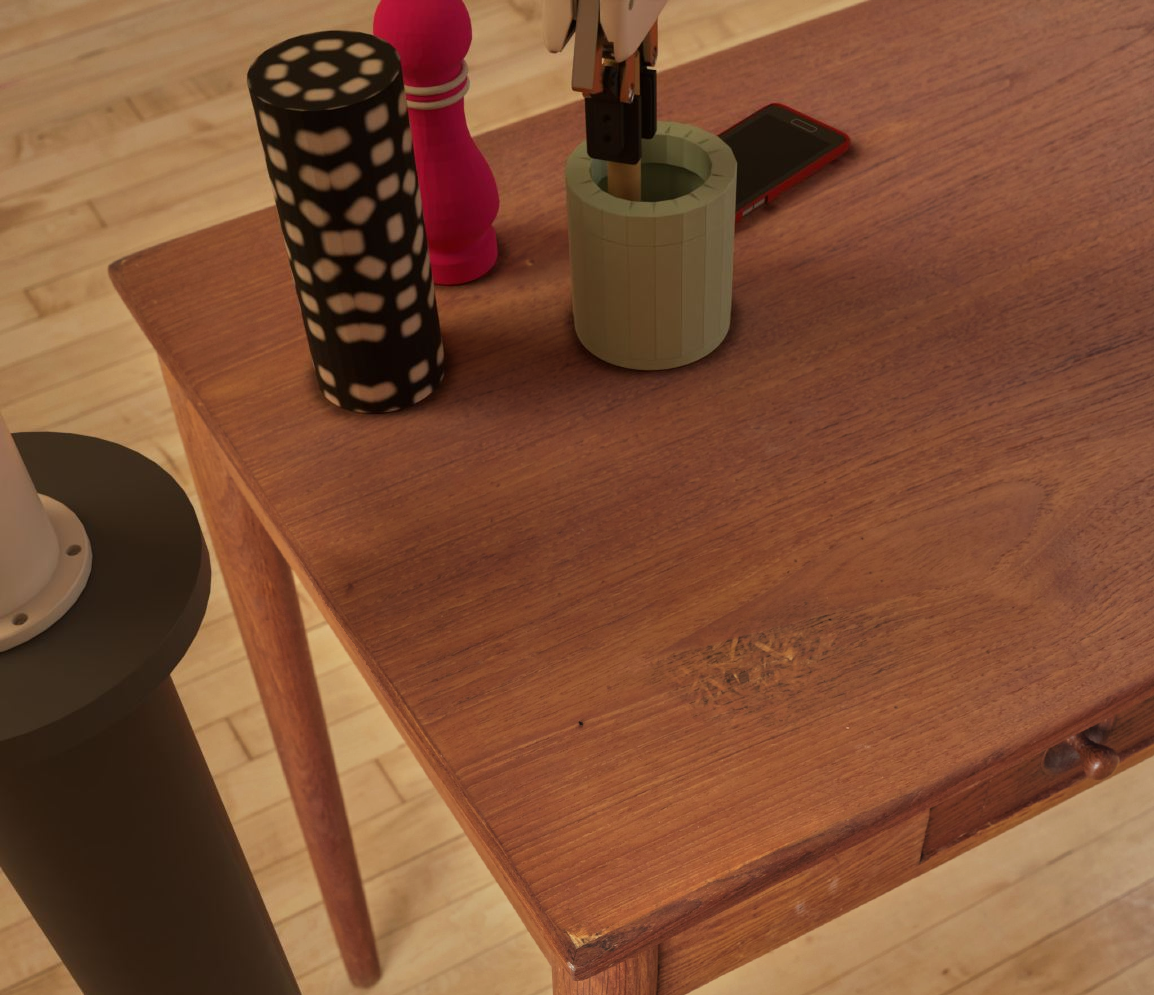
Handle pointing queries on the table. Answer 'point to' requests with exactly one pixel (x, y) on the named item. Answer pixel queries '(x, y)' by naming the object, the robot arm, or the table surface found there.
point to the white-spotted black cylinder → (351, 215)
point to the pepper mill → (443, 134)
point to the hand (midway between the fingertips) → (622, 144)
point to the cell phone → (778, 153)
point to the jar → (654, 251)
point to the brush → (622, 176)
